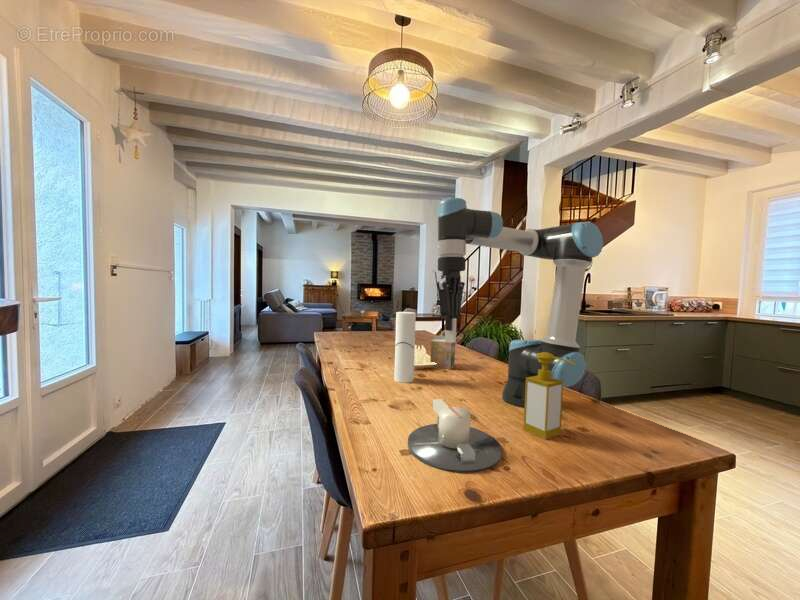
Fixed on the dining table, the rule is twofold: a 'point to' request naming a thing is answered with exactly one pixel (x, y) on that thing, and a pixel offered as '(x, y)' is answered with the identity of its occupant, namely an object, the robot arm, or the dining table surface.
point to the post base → (454, 450)
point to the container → (404, 347)
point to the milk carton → (442, 352)
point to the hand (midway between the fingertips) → (450, 341)
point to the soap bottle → (543, 401)
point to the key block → (452, 424)
